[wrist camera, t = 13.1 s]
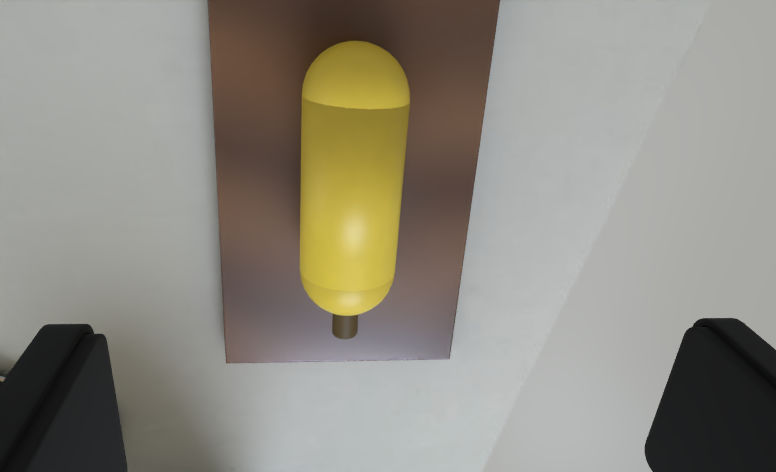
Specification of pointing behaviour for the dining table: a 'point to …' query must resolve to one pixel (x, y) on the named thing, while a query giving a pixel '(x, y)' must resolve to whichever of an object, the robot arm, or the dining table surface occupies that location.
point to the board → (283, 170)
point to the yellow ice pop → (351, 178)
